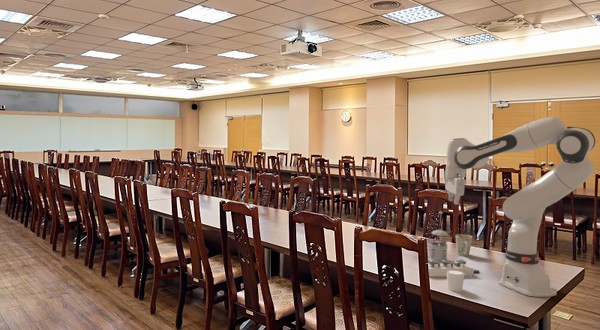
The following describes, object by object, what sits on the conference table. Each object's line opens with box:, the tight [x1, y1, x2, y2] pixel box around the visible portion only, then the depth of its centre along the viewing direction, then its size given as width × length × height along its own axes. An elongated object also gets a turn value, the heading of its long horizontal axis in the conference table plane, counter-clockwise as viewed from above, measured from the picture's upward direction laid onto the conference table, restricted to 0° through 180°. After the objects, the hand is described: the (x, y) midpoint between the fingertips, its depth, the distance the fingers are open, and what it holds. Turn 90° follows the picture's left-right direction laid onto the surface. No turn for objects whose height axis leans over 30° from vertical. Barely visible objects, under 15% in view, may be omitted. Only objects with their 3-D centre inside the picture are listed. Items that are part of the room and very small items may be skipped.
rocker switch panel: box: [427, 263, 480, 278], centre depth 200 cm, size 8×27×5 cm, turn 99°
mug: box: [455, 233, 473, 257], centre depth 232 cm, size 8×13×10 cm, turn 174°
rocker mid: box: [440, 260, 453, 266], centre depth 199 cm, size 3×5×1 cm
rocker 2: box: [452, 259, 467, 266], centre depth 200 cm, size 3×5×1 cm
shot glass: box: [446, 270, 465, 293], centre depth 178 cm, size 7×7×7 cm
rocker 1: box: [427, 259, 440, 266], centre depth 198 cm, size 3×5×1 cm
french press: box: [428, 210, 449, 263], centre depth 221 cm, size 10×12×25 cm
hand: (453, 202), depth 205 cm, fingers open, 8 cm apart
